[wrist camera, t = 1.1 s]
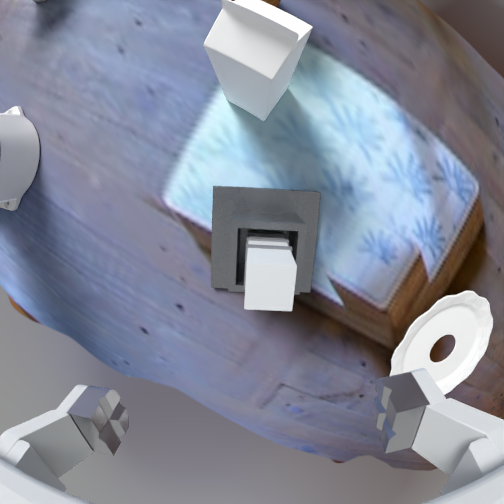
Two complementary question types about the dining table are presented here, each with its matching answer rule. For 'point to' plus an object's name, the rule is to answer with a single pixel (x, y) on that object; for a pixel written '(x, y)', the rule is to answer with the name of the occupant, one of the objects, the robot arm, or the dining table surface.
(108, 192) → the dining table surface
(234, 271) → the stand
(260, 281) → the column
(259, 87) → the milk
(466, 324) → the plate
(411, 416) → the robot arm
